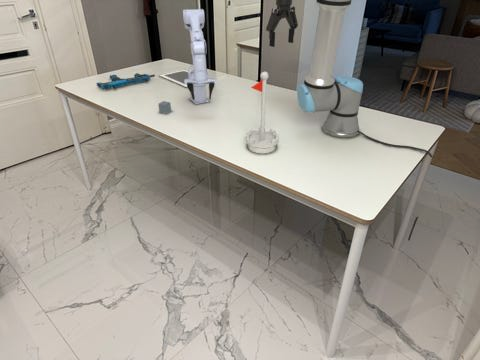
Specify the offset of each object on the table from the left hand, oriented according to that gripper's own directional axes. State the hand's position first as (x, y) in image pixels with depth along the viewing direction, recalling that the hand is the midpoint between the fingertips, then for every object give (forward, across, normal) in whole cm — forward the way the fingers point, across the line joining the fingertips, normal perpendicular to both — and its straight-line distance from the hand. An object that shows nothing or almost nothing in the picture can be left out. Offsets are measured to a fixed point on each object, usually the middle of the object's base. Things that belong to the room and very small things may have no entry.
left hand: (201, 99), depth 159 cm
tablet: (+9, -14, +63) cm, 66 cm away
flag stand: (+9, +25, -33) cm, 42 cm away
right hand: (-19, +40, +22) cm, 49 cm away
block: (+9, -19, +7) cm, 22 cm away
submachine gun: (+9, -51, +58) cm, 77 cm away
